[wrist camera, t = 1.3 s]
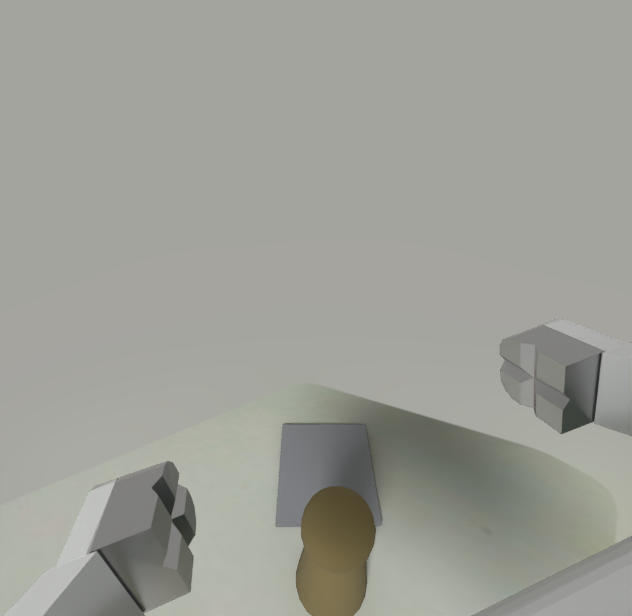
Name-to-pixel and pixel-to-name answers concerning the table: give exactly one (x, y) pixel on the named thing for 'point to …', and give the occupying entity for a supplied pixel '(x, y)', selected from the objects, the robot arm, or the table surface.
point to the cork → (334, 552)
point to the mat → (323, 467)
